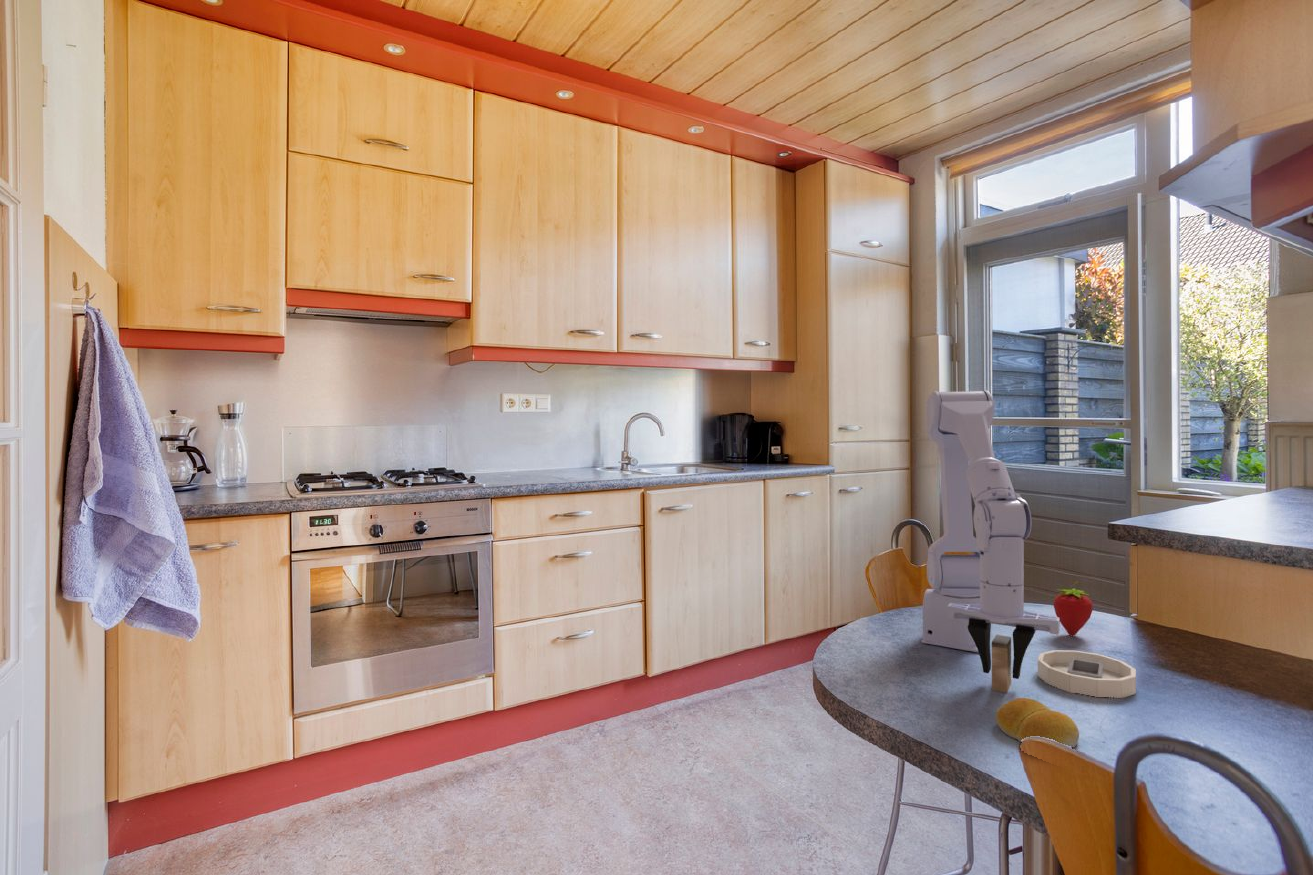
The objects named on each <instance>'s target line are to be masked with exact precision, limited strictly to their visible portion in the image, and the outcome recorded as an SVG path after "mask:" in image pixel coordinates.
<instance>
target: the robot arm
mask: <svg viewBox="0 0 1313 875" xmlns="http://www.w3.org/2000/svg"><path fill="white" fill-rule="evenodd" d="M994 415H995V401H994V397H993V395H992V394H991V393H990V391H989V390H986V389H984V390H973V391H937V390H932V391H931V392H930V394H929V395H928V397H927V400H926V406H925V416H926V417H925V418H926V433H927V435H928V436H927V437H928V439H929V440H931V441H933V442H935V443H937V448H938V449H937V450H938V454H939V471H940V473H939V474H940V488H941V489H940V490H941V506H942V525H943V526H942V527H943V535H942V536H940V537H939V538H938V539H936V540H935V541H934V542H932V543H931V544H930V546H929V547H928V549H927V561H926V575H927V576H926V577H927V581H928V584H929V586H930V587H931V588H927V589H925V592H924V595H923V600H922V639H921V643H922V644H929V645H934V646H939V647H943V648H944V647H945V648H951V649H957V650H962V651H968V652H974V653H978V654H979V658H980V661H981V665H982V666H981V667H982V672H983V673H984V674H989V673H990V671H992V654H991V630H992V629H991V628H992V625H993V624H994V625H999V626H1000V625H1001V626H1007V627H1013V628H1015V629H1014V630H1013V631H1012V644H1013V661H1012V662H1013V663H1012V678H1013V679H1015V680H1019V679H1020V676H1021V669H1022V663H1023V660H1024V657H1025V654H1026V651H1027V649H1028V647H1029V645H1030V643H1031V641H1032V640H1033V638H1034V635H1035V633H1036V631H1042V632H1047V633H1049V634H1052V635H1059V633H1060V631H1061V630H1060V627H1061V626H1060V624H1061V622H1060V618H1058V617H1057V616H1050V615H1045V614H1041V613H1037V612H1034V611H1033V612H1032V611H1027V610H1025V608H1024V607H1025V604H1024V602H1025V600H1024V598H1025V594H1024V593H1025V592H1024V591H1025V590H1024V589H1025V588H1024V586H1025V582H1024V581H1025V579H1024V578H1025V575H1024V574H1025V569H1024V566H1025V559H1024V557H1025V555H1024V554H1025V552H1024V551H1025V544H1024V543H1025V540H1027V539H1028V538H1029V536H1030V534H1031V531H1032V527H1033V526H1032V522H1033V521H1032V520H1033V519H1032V513H1031V510H1030V506H1029V504H1028V502H1027V501H1026V500H1025V499H1023V498H1022V496H1021V494H1019V493H1016V492H1015V489H1014V487H1013V483H1012V480H1011V477H1010V475H1009V472H1008V469H1007V466H1006V464H1005V463H1004V462H1003V461H1002V460H999V459H997V458H995V453H994V448H993V444H992V439H991V436H990V431H989V430H990V429H991V425H992V422H993V421H994V420H993V419H994ZM972 499H973V503H974V508H972V507H973V506H972ZM973 509H974V510H973ZM974 532H975V535H974ZM948 552H954V553H955V552H956V553H957V552H958V553H961V552H962V553H963V552H964V553H965V552H966V553H972V554H945V553H948Z"/></svg>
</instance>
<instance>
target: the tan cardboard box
mask: <svg viewBox="0 0 1313 875" xmlns="http://www.w3.org/2000/svg"><path fill="white" fill-rule="evenodd" d="M1011 685H1012V636H1007V635H1002V634H1001V635H1000V634H995V636H994V638H993V639H992V641H991V690H992V691H994V692H1002V693H1005V694H1006V693H1007V694H1008V692H1009V689H1010V688H1009V687H1011Z"/></svg>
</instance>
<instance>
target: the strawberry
mask: <svg viewBox="0 0 1313 875" xmlns="http://www.w3.org/2000/svg"><path fill="white" fill-rule="evenodd" d="M1077 583H1078V581H1076V582H1075V583H1073V585H1071V586H1070V589H1066V588H1062V589H1061V588H1058V589H1056V590H1057V591H1059V593H1057V596H1056V597H1055V598H1054V601H1053V609H1054V612H1055V616H1056V617H1058V618H1060V624H1061V625H1062V627H1063V628H1064V630H1065V631H1066V633H1067V634H1068V635H1069V636H1071V635H1072V636H1071V637H1073V635H1074V636H1076V635H1077V634H1078V632H1079V631H1080V630H1081V629H1082V628H1083V627H1084V626H1085V625H1086V624H1087V622H1088V621H1089V620H1090V618H1091V616H1092V613H1093V609H1094V607H1093V601H1092V600H1091V599H1090V598H1089V597H1091V595H1090V594H1088V593H1086V591H1085V590H1079V589H1076V588H1075V587H1074V588H1072V587H1073V586H1074V585H1076V584H1077ZM1088 596H1089V597H1088Z"/></svg>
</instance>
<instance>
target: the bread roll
mask: <svg viewBox="0 0 1313 875" xmlns="http://www.w3.org/2000/svg"><path fill="white" fill-rule="evenodd" d="M996 710H997V711H996V713H995V714H996V717H995V718H996V722H997V723H996V724H997V725H998V727H999V728H1000V729H1001V731H1002V732H1003V733H1004V734H1006V735H1008V736H1009V737H1011V738H1012V739H1016V740H1018V741H1019V742H1020V741H1021V740H1022V739H1024V738H1026V737H1030V736H1040V737H1045V738H1049V739H1053V740H1055V741H1057V742H1059V743H1062V744H1065V745H1068V746H1071V747H1073V748H1075V747H1076V746H1077V744H1078V743H1079V738H1080V732H1079V728H1078V726H1077V723H1076V722H1075V721H1074V720H1073V719H1072V718H1071V717H1070V716H1069V715H1067V714H1065V713H1062V712H1059V711H1056V710H1052V709H1050V708H1049V707H1048V706H1046V705H1045V704H1043V703H1041V702H1040V701H1038V700H1035V699H1032V698H1027V697H1018V698H1014V699H1011V700H1009V701H1007V702H1006V703H1003V705H1001V706H1000V707H999V708H998V709H996Z"/></svg>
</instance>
